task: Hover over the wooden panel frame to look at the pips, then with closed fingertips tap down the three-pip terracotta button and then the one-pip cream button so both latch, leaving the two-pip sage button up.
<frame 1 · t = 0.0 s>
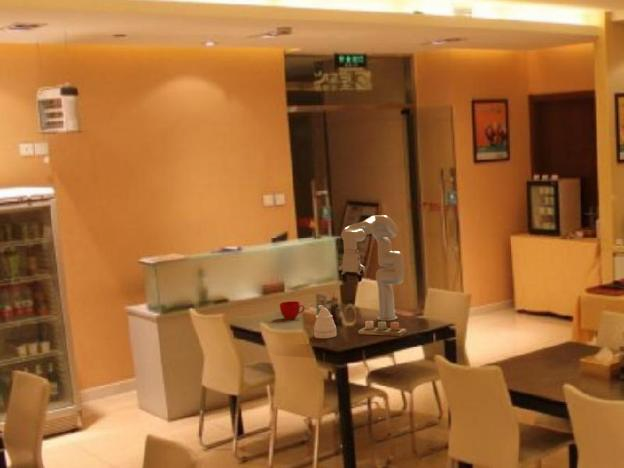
hand: (352, 281, 500), 31 cm above the table, fingers open, 9 cm apart
wooden panel frame: (382, 333, 502), on the table
button one: (369, 324, 506), point 4 cm above the table, slide at 0.0 cm
button three: (394, 326, 498), point 4 cm above the table, slide at 0.0 cm
button two: (382, 325, 502), point 4 cm above the table, slide at 0.0 cm
ceramic cup: (293, 318, 563), on the table
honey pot: (325, 336, 505), on the table
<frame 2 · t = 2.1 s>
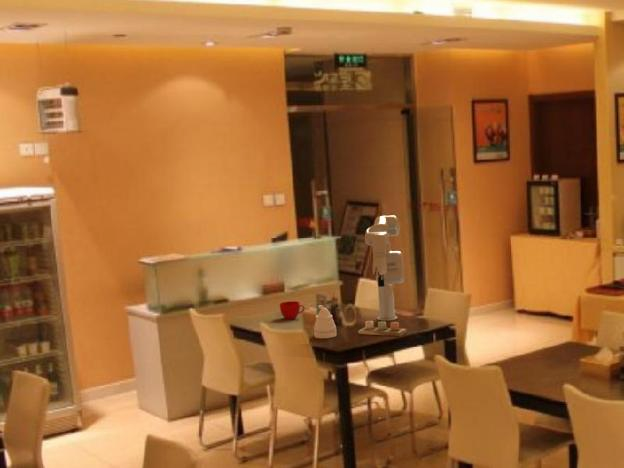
hand: (381, 286, 501), 27 cm above the table, fingers closed
nothing on the table moved.
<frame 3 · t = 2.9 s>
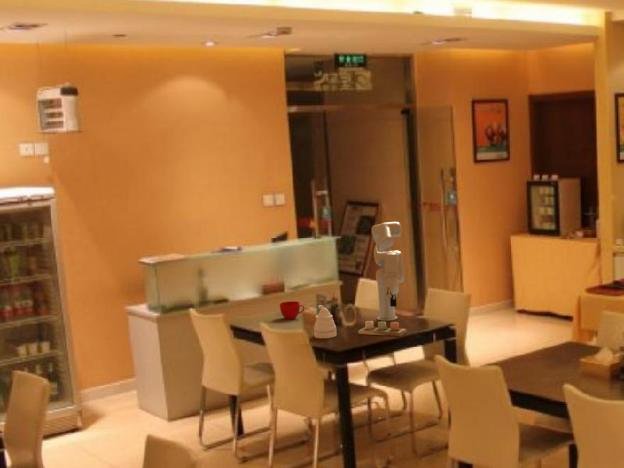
hand: (393, 306, 496), 16 cm above the table, fingers closed
nothing on the table moved.
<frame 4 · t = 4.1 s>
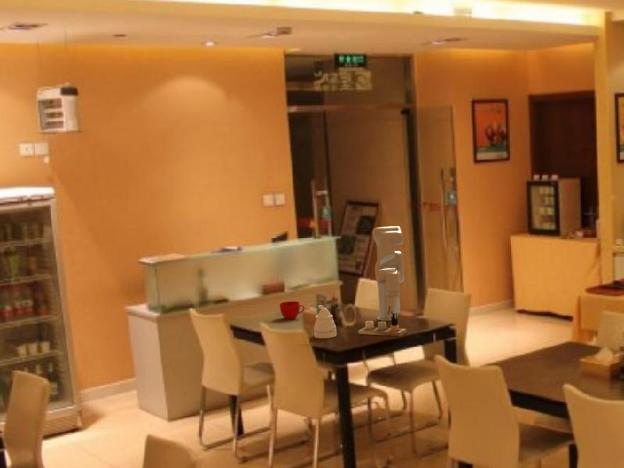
hand: (394, 325, 497), 5 cm above the table, fingers closed
button three: (394, 328, 498), point 3 cm above the table, slide at -1.4 cm, touching gripper
everything else where it was.
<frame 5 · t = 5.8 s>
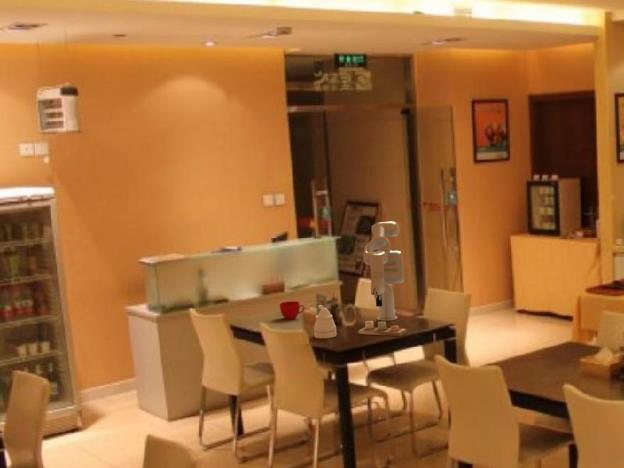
hand: (379, 306, 501), 16 cm above the table, fingers closed
button three: (394, 329, 498), point 2 cm above the table, slide at -2.0 cm
everything else where it was.
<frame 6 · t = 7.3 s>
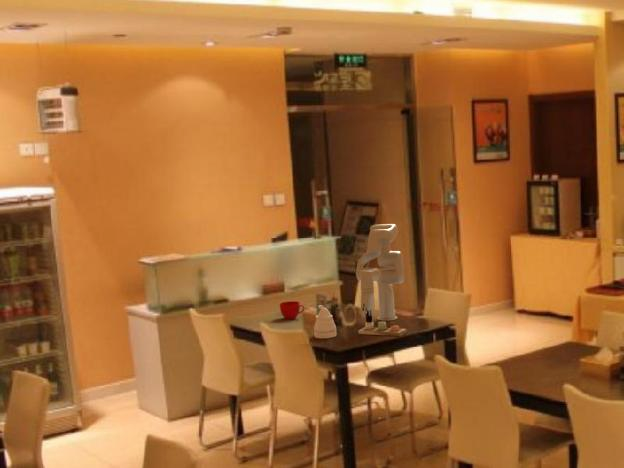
hand: (369, 322, 505), 6 cm above the table, fingers closed
button one: (369, 325, 506), point 4 cm above the table, slide at -0.3 cm, touching gripper
everything else where it was.
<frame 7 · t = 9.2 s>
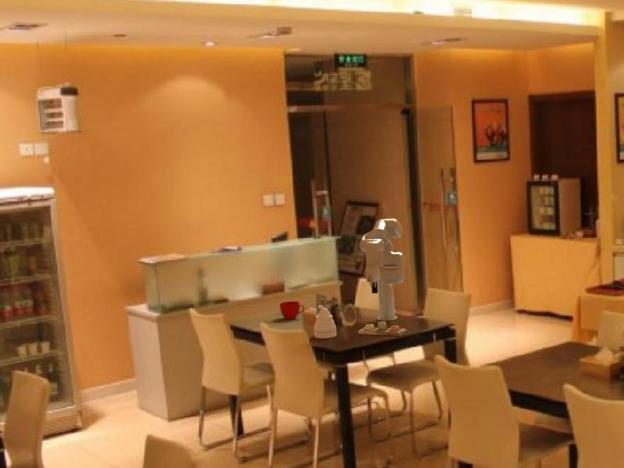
hand: (374, 293, 510), 22 cm above the table, fingers closed
button one: (369, 328, 506), point 2 cm above the table, slide at -2.0 cm
everything else where it was.
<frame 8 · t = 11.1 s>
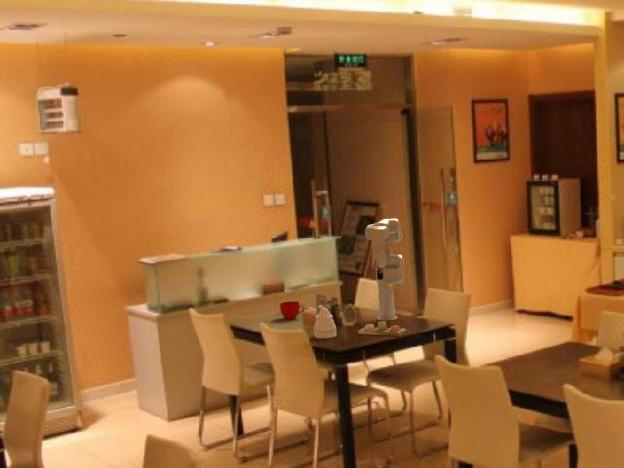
hand: (380, 279, 514), 29 cm above the table, fingers closed
nothing on the table moved.
at the end: button three slide at -2.0 cm; button one slide at -2.0 cm; button two slide at 0.0 cm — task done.
